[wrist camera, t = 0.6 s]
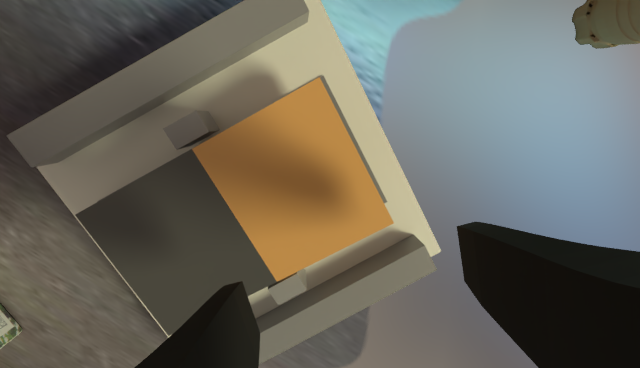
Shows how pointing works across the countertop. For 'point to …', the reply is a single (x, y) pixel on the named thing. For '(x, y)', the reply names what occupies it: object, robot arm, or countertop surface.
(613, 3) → the handle
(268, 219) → the breaker rocker
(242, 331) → the robot arm
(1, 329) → the syrup box
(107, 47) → the countertop surface
